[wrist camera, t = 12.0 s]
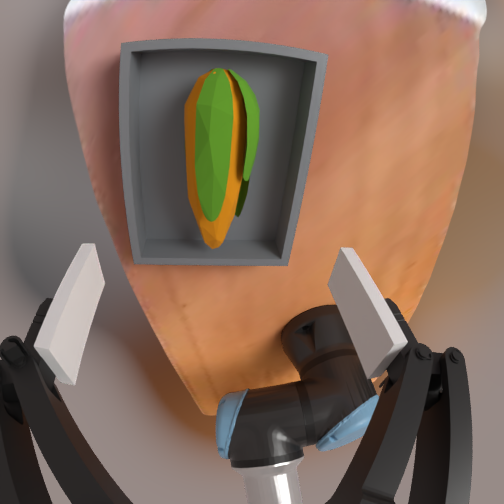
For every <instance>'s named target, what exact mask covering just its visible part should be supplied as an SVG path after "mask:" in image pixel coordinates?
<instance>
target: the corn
mask: <svg viewBox="0 0 504 504" xmlns="http://www.w3.org/2000/svg"><path fill="white" fill-rule="evenodd" d="M259 117H260V109H259V106H258V103H257V99H256V96H255V94H254V92H253V91H252V89H251V88H250V86H249V85H248V83H247V81H246V80H244V79H243V78H242V77H240V76H239V75H238V74H237V73H235V72H234V71H233V70H231V69H228V70H227V69H223V68H215V69H211V70H210V71H208V72H207V73H205V74H204V75H202V76H200V77H199V78H198V79H197V81H196V83H195V85H194V87H193V89H192V91H191V93H190V95H189V97H188V99H187V101H186V103H185V108H184V126H185V157H186V172H187V189H188V199H189V202H190V205H191V208H192V210H193V213H194V216H195V219H196V221H197V224H198V227H199V230H200V232H201V235H202V237H203V240H204V242H205V243H206V244H207V245H208V246H209V247H210V248H211V249H214V248H218V247H219V246H220V245H221V244H222V243H223V241H224V239H225V236H226V234H227V232H228V229H229V227H230V225H231V222H232V220H233V218H234V215H236V216H237V217H239V216H240V214H241V212H242V209H243V206H244V203H245V200H246V197H247V193H248V186H249V180H250V174H251V171H252V167H253V164H254V161H255V157H256V152H257V147H258V142H259Z"/></svg>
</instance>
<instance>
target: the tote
mask: <svg viewBox="0 0 504 504" xmlns="http://www.w3.org/2000/svg"><path fill="white" fill-rule="evenodd" d="M327 60H328V55H327V54H323V53H319V52H314V51H310V50H305V49H300V48H294V47H288V46H282V45H276V44H269V43H261V42H252V41H241V40H228V39H203V38H183V39H159V40H145V41H135V42H126V43H121V54H120V74H119V133H120V153H121V168H122V180H123V190H124V199H125V208H126V216H127V223H128V230H129V237H130V243H131V249H132V255H133V261H134V264H156V265H232V266H288V262H289V258H290V254H291V249H292V245H293V240H294V236H295V231H296V227H297V222H298V218H299V213H300V208H301V203H302V199H303V194H304V189H305V184H306V179H307V174H308V169H309V164H310V159H311V154H312V148H313V143H314V138H315V132H316V127H317V121H318V115H319V110H320V104H321V98H322V92H323V86H324V80H325V73H326V67H327ZM215 68H223V69H227V70H228V69H231V70H233V71H234V72H235V73H237V74H238V75H239V76H240V77H242V78H243V79H244V80H246V81H247V83H248V85H249V86H250V88H251V89H252V91H253V92H254V94H255V96H256V99H257V103H258V106H259V109H260V117H259V142H258V147H257V152H256V157H255V161H254V164H253V167H252V171H251V174H250V180H249V186H248V193H247V197H246V200H245V203H244V206H243V209H242V212H241V214H240V216H239V217H237V216H236V215H234V218H233V220H232V222H231V225H230V227H229V229H228V232H227V234H226V236H225V239H224V241H223V243H222V244H221V245H220V246H219V247H218V248H214V249H211V248H210V247H209V246H208V245H207V244H206V243H205V242H204V240H203V237H202V235H201V232H200V230H199V227H198V224H197V221H196V219H195V216H194V213H193V210H192V208H191V205H190V202H189V199H188V189H187V172H186V157H185V126H184V108H185V103H186V101H187V99H188V97H189V95H190V93H191V91H192V89H193V87H194V85H195V83H196V81H197V79H198V78H199V77H200V76H202V75H204V74H205V73H207V72H208V71H210V70H211V69H215Z"/></svg>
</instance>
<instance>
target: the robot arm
mask: <svg viewBox="0 0 504 504" xmlns="http://www.w3.org/2000/svg"><path fill="white" fill-rule="evenodd" d="M104 285H105V282H104V278H103V275H102V271H101V267H100V263H99V259H98V256H97V252H96V247H95V244H82V245H81V247H80V249H79V250H78V252H77V254H76V256H75V257H74V259H73V261H72V263H71V265H70V267H69V269H68V271H67V272H66V274H65V276H64V278H63V280H62V282H61V284H60V287H59V289H58V290H57V292H56V295H55V297H54V299H51V298H47V299H46V300H45V301H44V302H43V303H42V304H41V305H40V306H39V309H38V311H37V313H36V316H35V317H34V320H33V323H32V324H31V327H30V329H29V331H28V333H27V336H26V338H25V341H24V343H23V342H22V340H21V339H20V338H19V337H17V336H10V337H7V338H6V339H5V340H3V342H2V343H1V345H0V357H1V359H2V360H0V504H52V501H51V499H50V496H49V493H48V491H47V488H46V485H45V482H44V479H43V476H42V474H41V470H40V467H39V464H38V460H37V457H36V454H35V449H34V446H33V441H32V437H31V433H30V429H31V431H32V433H33V436H34V438H35V440H36V442H37V444H38V446H39V448H40V450H41V452H42V454H43V456H44V458H45V460H46V462H47V464H48V465H49V467H50V469H51V471H52V473H53V474H54V476H55V478H56V480H57V481H58V483H59V484H60V486H61V488H62V489H63V491H64V492H65V494H66V495H67V497H68V498H69V500H70V501H71V503H72V504H133V503H132V502H131V501H130V500H129V498H128V497H127V496H126V495H125V494H124V493H123V491H122V490H121V489H120V488H119V486H118V485H117V484H116V483H115V481H114V480H113V479H112V477H111V476H110V475H109V473H108V472H107V471H106V469H105V468H104V467H103V465H102V464H101V462H100V461H99V459H98V458H97V457H96V455H95V454H94V452H93V451H92V449H91V448H90V446H89V444H88V443H87V441H86V440H85V438H84V436H83V435H82V433H81V432H80V430H79V428H78V426H77V425H76V423H75V421H74V419H73V418H72V416H71V414H70V412H69V410H68V409H67V407H66V405H65V403H64V401H63V399H62V397H61V395H60V393H59V391H58V388H57V387H56V385H55V384H54V380H55V377H57V378H58V379H59V381H60V382H61V383H66V384H72V385H75V383H76V378H77V374H78V370H79V366H80V362H81V358H82V354H83V350H84V347H85V344H86V340H87V337H88V333H89V330H90V327H91V323H92V320H93V317H94V314H95V311H96V308H97V305H98V302H99V299H100V296H101V293H102V290H103V287H104ZM328 287H329V289H330V291H331V293H332V296H333V298H334V300H335V302H336V305H326V306H320V307H316V308H313V309H310V310H308V311H306V312H304V313H302V314H300V315H298V316H297V317H295V318H294V319H293V320H291V321H290V322H289V323H288V324H287V326H286V327H285V328H284V330H283V332H282V335H281V341H282V345H283V349H284V352H285V353H286V355H287V356H288V358H289V359H290V361H291V362H292V364H293V365H294V366H295V368H296V369H297V371H298V372H299V375H300V379H301V381H296V382H291V383H286V384H281V385H276V386H270V387H264V388H258V389H252V390H250V389H246V390H244V391H238V392H233V393H228V394H226V395H224V396H223V397H222V399H221V400H220V402H219V405H218V409H217V416H216V443H217V446H218V453H219V455H220V456H221V457H222V458H225V459H230V461H231V467H232V469H233V470H235V471H236V472H238V473H240V474H241V475H242V476H243V480H244V486H245V490H246V496H247V501H248V504H303V500H302V495H301V490H300V484H299V479H298V473H297V466H298V465H299V464H300V462H301V461H302V460H303V458H304V454H303V447H305V446H309V445H314V444H316V448H317V449H318V450H319V451H327V450H332V449H335V448H338V447H340V446H343V445H345V444H348V443H350V442H352V441H354V440H356V439H358V438H360V437H362V436H363V435H364V436H363V438H362V440H361V443H360V445H359V447H358V449H357V451H356V453H355V455H354V457H353V459H352V462H351V463H350V465H349V467H348V469H347V471H346V473H345V475H344V477H343V479H342V480H341V482H340V484H339V486H338V488H337V489H336V491H335V493H334V494H333V496H332V497H331V499H330V500H328V502H326V503H325V504H395V502H394V496H395V494H396V491H397V489H398V487H399V484H400V482H401V479H402V477H403V474H404V471H405V469H406V466H407V463H408V460H409V457H410V455H411V452H412V449H413V445H414V442H415V439H416V436H417V441H416V454H415V463H414V471H413V478H412V484H411V491H410V497H409V502H408V504H469V498H470V489H471V476H472V420H471V405H470V394H469V386H468V378H467V372H466V365H465V359H464V356H463V354H462V353H461V352H460V351H459V350H458V349H457V348H454V347H450V348H448V349H447V350H446V351H445V352H444V353H435V352H432V351H431V350H430V349H429V347H427V346H426V345H424V344H421V343H418V342H417V340H416V338H415V337H414V335H413V333H412V331H411V329H410V328H409V326H408V324H407V322H406V321H405V320H404V317H403V315H402V314H401V312H400V310H399V309H398V307H397V305H396V304H395V303H394V302H393V301H392V300H390V299H389V298H386V299H384V298H383V296H382V295H381V293H380V291H379V290H378V288H377V286H376V285H375V283H374V281H373V280H372V278H371V276H370V275H369V273H368V271H367V270H366V268H365V267H364V265H363V263H362V262H361V260H360V259H359V257H358V256H357V254H356V252H355V251H354V249H353V248H340V251H339V254H338V257H337V260H336V263H335V265H334V268H333V271H332V274H331V277H330V280H329V282H328ZM385 370H387V372H388V376H387V377H386V378H385V380H384V381H383V382H382V383H381V384H380V386H379V387H382V386H383V389H382V391H381V394H380V397H379V396H378V395H377V393H376V391H375V388H374V386H373V383H372V381H371V378H375V377H379V376H381V375H382V374H383V373H384V371H385ZM383 384H384V385H383ZM29 427H30V428H29Z"/></svg>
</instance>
